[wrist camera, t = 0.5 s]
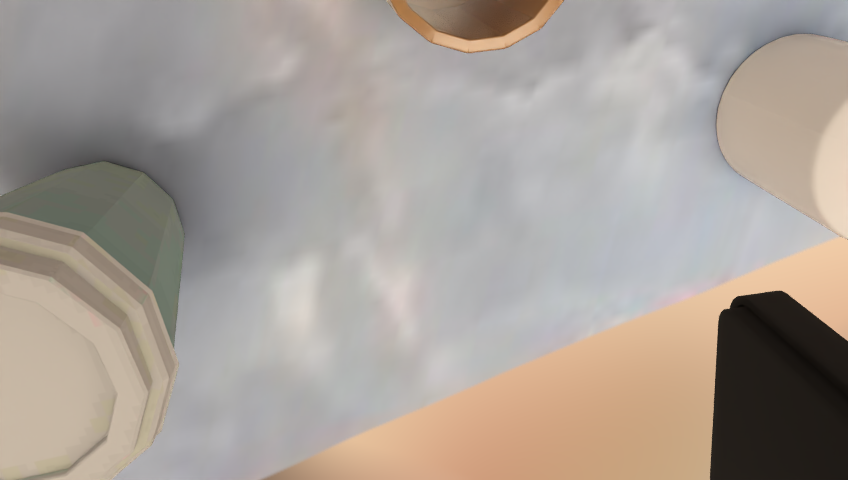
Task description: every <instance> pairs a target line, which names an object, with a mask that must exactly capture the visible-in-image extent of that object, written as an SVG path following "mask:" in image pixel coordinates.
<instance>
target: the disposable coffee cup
mask: <svg viewBox="0 0 848 480" xmlns="http://www.w3.org/2000/svg"><path fill="white" fill-rule="evenodd" d="M184 237H185V233H184V230H183V227H182V224H181V221H180V219H179V216H178V213H177V210H176V207H175V204H174V201H173V199H172V198H171V197H170V196H169V195H168V194H167V193H165V192H164V191H163V190H162V189H161V188H160V187H159V186H158V185H157V184H156V183H155V182H153V181H152V180H151V179H150V178H149V177H148V176H147V175H146V174H145V173H144V172H140V171H137V170H133V169H130V168H126V167H123V166H119V165H116V164H112V163H108V162H105V161H102V162H97V163H92V164H87V165H83V166H78V167H73V168H69V169H64V170H62V171H60V172H57V173H55V174H52V175H50V176H47V177H45V178H43V179H40V180H38V181H35V182H33V183H31V184H28V185H26V186H23V187H21V188H19V189H16V190H14V191H11V192H9V193H7V194H4V195H2V196H0V480H111V479H112V478H113V477H115V476H116V475H117V474H118V473H119V472H120V471H122V470H123V469H124V468H125V467H126V466H128V465H129V464H130V463H131V462H132V461H133V460H135V459H136V458H137V457H138V456H139V455H140V454H142V453H143V452H144V451H145V450H146V449H148V448H149V447H150V446H151V445H152V443H153V441H154V439H155V437H156V435H158V434H159V433H160V432H161V430H162V426H163V423H164V419H165V415H166V411H167V408H168V404H169V400H170V397H171V393H172V389H173V385H174V382H175V378H176V374H177V370H178V367H179V362H178V360H177V357H176V354H175V351H174V341H175V331H176V320H177V310H178V299H179V289H180V279H181V268H182V258H183V247H184Z"/></svg>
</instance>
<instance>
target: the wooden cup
mask: <svg viewBox="0 0 848 480" xmlns="http://www.w3.org/2000/svg"><path fill="white" fill-rule="evenodd" d="M386 1H387V3H388V4H389V5H390V6H391V7H392V9H393V10H394V11H395V12H396V14H397V15H398V16H399V17H400V18H401V19H402V20H403V21H404V22H406V23H407V24H408V25H409V26H410V27H412V28H413V29H414V30H415V31H417V32H418V33H419V34H420V35H421V36H423V37H424V38H425V39H426V40H428V41H429V42H431V43H433V44H437V45H440V46H444V47H447V48H451V49H454V50H457V51H461V52H464V53H475V52H483V51H491V50H499V49H505V48H508V47H510V46H512V45H513V44H515V43H517V42H519V41H520V40H522V39H524V38H526V37H527V36H529V35H531V34H533V33H535V32H536V31H538V30H540V28H542V27H543V26H544V25H545V23H546V22H547V21H548V20H549V18H550V17H551V16H552V15H553V14H554V12H555V11H556V10H557V9H558V7H559V6H560V5H561V4H562V3H563V1H564V0H386Z"/></svg>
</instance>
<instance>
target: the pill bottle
mask: <svg viewBox="0 0 848 480" xmlns="http://www.w3.org/2000/svg"><path fill="white" fill-rule="evenodd" d="M716 125H717V138H718V142H719V146H720V149H721V152H722V154H723V155H724V157H725V159H726V161H727V163H728V164H729V165H730V166H731V167H732V168H733V169H734V171H735V172H737V173H738V174H740V175H741V176H742V177H744V178H745V179H747V180H748V181H750V182H752V183H753V184H755V185H757V186H758V187H760V188H761V189H763V190H765V191H766V192H768V193H770V194H771V195H773V196H775V197H776V198H778V199H780V200H781V201H783V202H785V203H786V204H788V205H789V206H791V207H793V208H794V209H796V210H798V211H799V212H801V213H803V214H804V215H806V216H808V217H809V218H811V219H813V220H814V221H816V222H818V223H819V224H821V225H822V226H824V227H826V228H827V229H829V230H831V231H832V232H834V233H836V234H837V235H839V236H841V237H843V238H845V239H848V42H847V41H842V40H838V39H834V38H829V37H825V36H820V35H815V34H795V35H790V36H786V37H782V38H779V39H777V40H775V41H772V42H770V43H768V44H766V45H764V46H763V47H762V48H760V49H759V50H757V51H756V52H754V53H753V54H752V55H751V56H750V57H748V58H747V59H746V60H745V61H744V62H743V63H742V64H741V65H740V67H739V68H738V69H737V71H736V72H735V73H734V74H733V76H732V77H731V79H730V81H729V82H728V84H727V86H726V88H725V90H724V92H723V95H722V98H721V101H720V104H719V107H718V114H717V121H716Z"/></svg>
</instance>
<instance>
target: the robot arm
mask: <svg viewBox="0 0 848 480" xmlns="http://www.w3.org/2000/svg"><path fill="white" fill-rule="evenodd" d="M713 415H714V416H713V432H712V433H713V434H712V450H711V451H712V452H711V469H710V480H848V341H847V340H845V339H844V338H843V337H842V336H840V335H839V334H838V333H836V332H835V331H834V330H833V329H831V328H830V327H829V326H828V325H826V324H825V323H824V322H822V321H821V320H820V319H819V318H817V317H816V316H815V315H813V314H812V313H811V312H810V311H808V310H807V309H806V308H805V307H803V306H802V305H801V304H799V303H798V302H797V301H796V300H794V299H793V298H791V297H790V296H789V295H788V294H787V293H785V292H783V291H772V292H765V293H759V294H751V295H745V296H738V297H736V298H735V299H734V300H733V301H732V303H731V306H730V309H724V310H723V311H722V312H721V314H720V316H719V322H718V340H717V358H716V378H715V396H714V413H713Z"/></svg>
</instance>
